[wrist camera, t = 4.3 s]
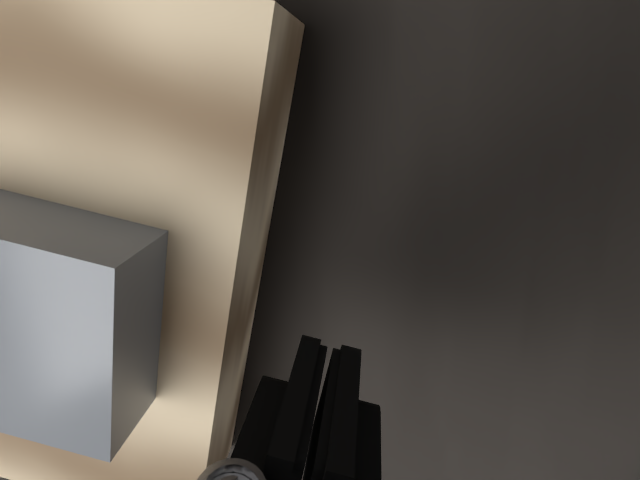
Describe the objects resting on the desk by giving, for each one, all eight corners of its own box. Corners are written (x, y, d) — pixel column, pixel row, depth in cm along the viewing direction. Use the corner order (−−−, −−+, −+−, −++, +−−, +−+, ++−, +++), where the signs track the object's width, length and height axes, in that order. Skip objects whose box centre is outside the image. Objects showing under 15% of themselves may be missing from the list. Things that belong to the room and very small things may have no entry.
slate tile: (-3, 188, 12) (-98, 214, 9) (168, 230, 11) (114, 268, 9) (12, 359, 14) (-61, 415, 11) (155, 398, 14) (110, 462, 11)
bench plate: (-116, -69, 13) (-306, -128, 10) (304, 25, 13) (275, 1, 9) (-47, 370, 20) (-143, 436, 16) (231, 446, 19) (197, 532, 16)
